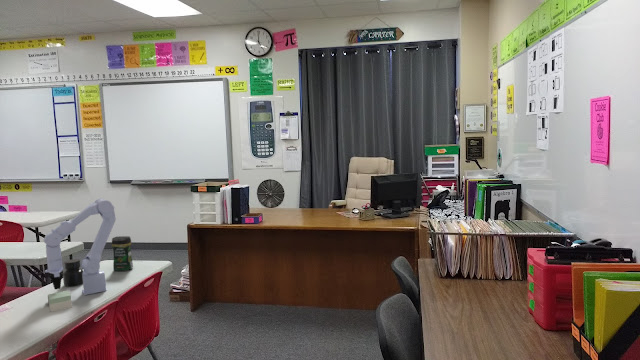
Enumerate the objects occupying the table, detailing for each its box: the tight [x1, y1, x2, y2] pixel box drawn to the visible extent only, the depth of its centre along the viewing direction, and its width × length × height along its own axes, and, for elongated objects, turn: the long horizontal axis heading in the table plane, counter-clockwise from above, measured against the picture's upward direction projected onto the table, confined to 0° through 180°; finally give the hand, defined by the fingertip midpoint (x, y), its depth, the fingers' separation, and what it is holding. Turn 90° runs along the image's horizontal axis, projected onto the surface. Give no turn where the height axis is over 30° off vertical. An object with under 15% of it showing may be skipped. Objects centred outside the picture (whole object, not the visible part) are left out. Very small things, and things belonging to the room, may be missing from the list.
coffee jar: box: [111, 235, 134, 272], centre depth 244 cm, size 10×8×19 cm
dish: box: [48, 299, 73, 313], centre depth 191 cm, size 8×8×3 cm
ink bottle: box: [62, 258, 84, 288], centre depth 221 cm, size 10×9×12 cm
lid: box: [47, 290, 72, 305], centre depth 192 cm, size 8×8×2 cm
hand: (57, 288), depth 201 cm, fingers closed
